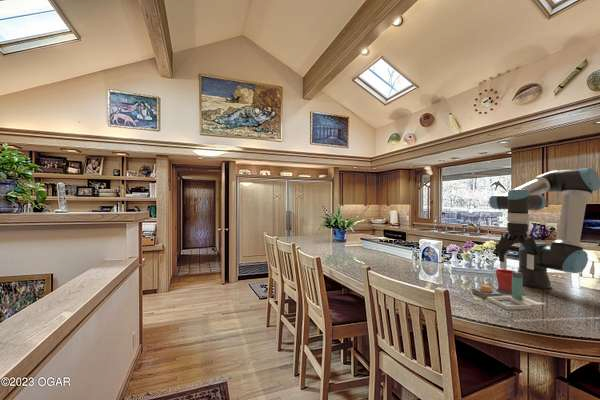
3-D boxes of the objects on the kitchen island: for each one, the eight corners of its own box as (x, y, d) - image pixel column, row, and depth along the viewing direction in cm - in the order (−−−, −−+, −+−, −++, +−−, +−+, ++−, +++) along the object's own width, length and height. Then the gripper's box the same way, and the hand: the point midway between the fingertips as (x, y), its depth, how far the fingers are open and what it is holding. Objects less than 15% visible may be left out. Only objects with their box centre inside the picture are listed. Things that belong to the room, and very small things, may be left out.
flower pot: (512, 287, 143) (512, 269, 143) (527, 294, 132) (527, 275, 132) (490, 286, 144) (491, 268, 144) (504, 293, 133) (504, 274, 133)
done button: (486, 292, 131) (487, 285, 131) (494, 295, 126) (494, 287, 126) (478, 292, 130) (478, 285, 130) (485, 295, 126) (485, 288, 126)
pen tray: (509, 301, 123) (509, 296, 123) (531, 310, 113) (531, 305, 113) (487, 301, 122) (487, 296, 122) (507, 311, 111) (507, 306, 111)
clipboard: (521, 295, 131) (521, 293, 131) (550, 306, 117) (550, 304, 117) (498, 296, 130) (498, 293, 130) (525, 307, 116) (525, 304, 116)
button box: (487, 294, 133) (487, 287, 133) (501, 299, 125) (501, 293, 125) (472, 294, 132) (472, 288, 132) (485, 300, 124) (485, 293, 124)
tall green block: (517, 297, 126) (517, 271, 126) (524, 300, 123) (524, 273, 123) (509, 297, 126) (509, 271, 126) (516, 300, 122) (517, 273, 122)
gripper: (534, 222, 129) (533, 266, 129) (486, 221, 127) (485, 266, 127) (550, 223, 122) (549, 270, 122) (499, 222, 119) (498, 271, 119)
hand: (516, 269), depth 124 cm, fingers open, 13 cm apart
